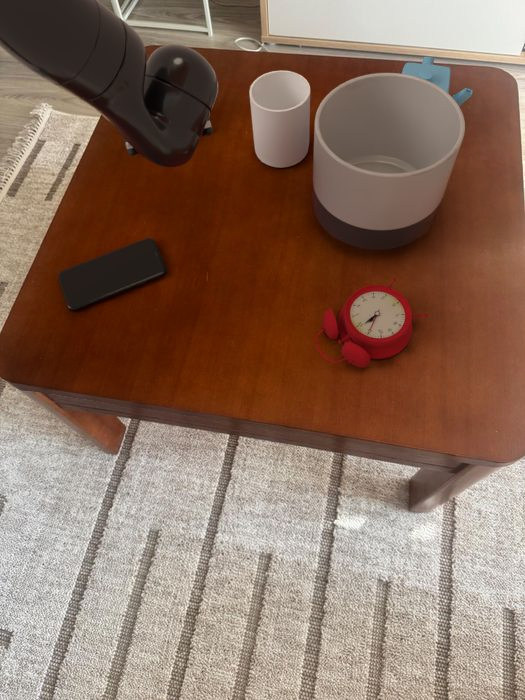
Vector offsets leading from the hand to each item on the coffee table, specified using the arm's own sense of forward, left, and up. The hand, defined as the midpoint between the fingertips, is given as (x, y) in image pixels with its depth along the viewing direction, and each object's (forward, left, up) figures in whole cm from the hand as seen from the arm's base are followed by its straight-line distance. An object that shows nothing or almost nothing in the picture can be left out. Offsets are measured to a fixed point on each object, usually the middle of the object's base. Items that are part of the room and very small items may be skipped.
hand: (168, 140), depth 82 cm
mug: (+17, +10, -9) cm, 21 cm away
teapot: (+40, +16, -9) cm, 44 cm away
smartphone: (-6, -20, -9) cm, 23 cm away
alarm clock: (+33, -26, -9) cm, 43 cm away
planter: (+33, -4, -9) cm, 34 cm away
